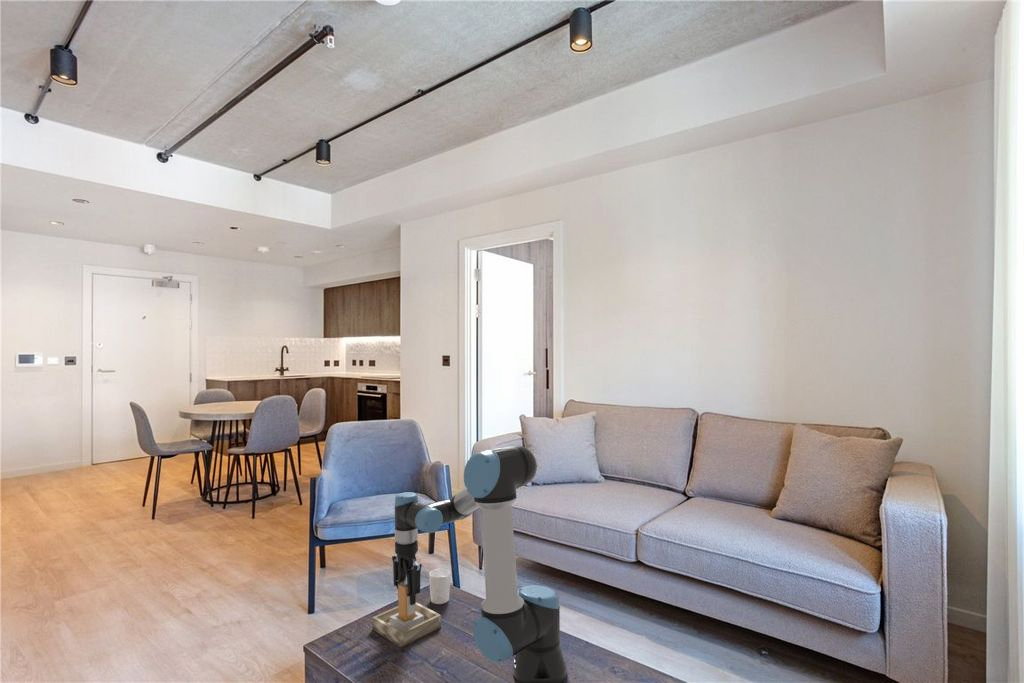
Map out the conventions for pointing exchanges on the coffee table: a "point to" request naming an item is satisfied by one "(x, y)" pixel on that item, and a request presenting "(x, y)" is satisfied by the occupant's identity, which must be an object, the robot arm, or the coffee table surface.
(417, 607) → the box
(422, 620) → the socket
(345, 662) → the coffee table surface
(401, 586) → the connector
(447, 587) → the white cup
